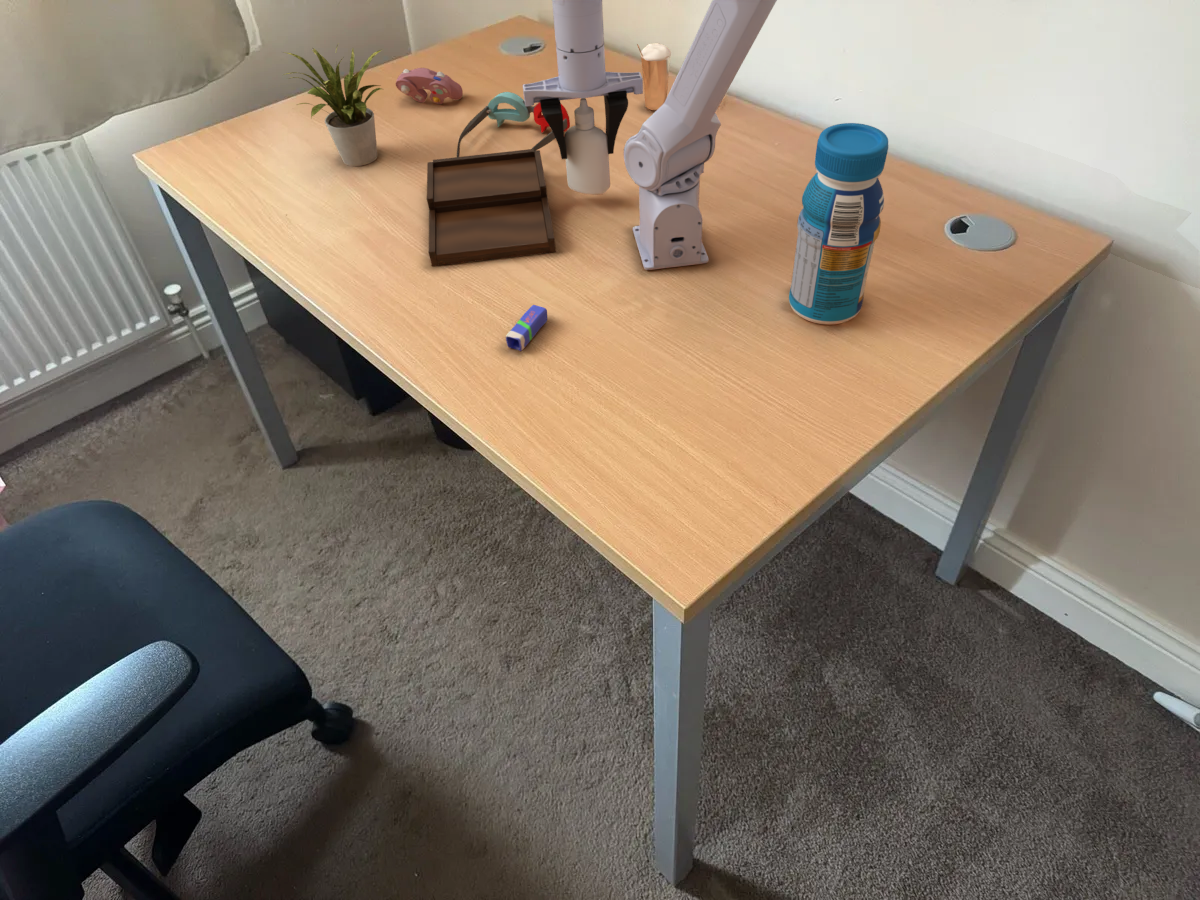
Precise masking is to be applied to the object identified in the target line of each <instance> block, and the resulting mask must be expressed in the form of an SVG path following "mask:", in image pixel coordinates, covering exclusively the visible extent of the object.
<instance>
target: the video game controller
mask: <svg viewBox="0 0 1200 900" xmlns="http://www.w3.org/2000/svg"><path fill="white" fill-rule="evenodd" d="M395 87H396V89H397V90H398V91H399V92H401V93H402V94H404V95H406V96H408V97H411V98H412V99H413V100H415V101H416V102H418V103H422V104H423V103H425V102H426V101H427V98H428V92H427V91H430V95H429V99H430V102H433V104H438V105H443V103H444V101H445V99H451V100H454V101H455V100H456V101H457V100H461V99H462V98H463V96H464V95H463V94H464V91H463V88H462V85H461V84H460V83H458V82H457V81H455V80H453V79H452V78H451V76H449V75H447V74H445V73H444V72H442V71H435V70H432V69H429V68H426V67H417V68H414V69H413V68H412V69H411V70H409V69H408V68H403V71H402V72H401V73H400V74H399V75H398V76H397V78H396V81H395Z"/></svg>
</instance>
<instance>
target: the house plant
mask: <svg viewBox="0 0 1200 900" xmlns="http://www.w3.org/2000/svg"><path fill="white" fill-rule="evenodd" d="M338 47H339V44H337V45H336V47H335V52H337V50H338ZM383 50H384V49H379V50H377V51H374V52H373V53H372V54H371V55H369V57H368V58H367V59H366V61H365V62H364V64H363V65H362V67H361V69H360V70H359V71H357V72H356V73H354V71H355V51H354V48H352V49H351V55H350V60H349V70H348V71H349V72H348V73H347V74H346V75H345V76H344V77H343V85H342V79H341V75H340V63H341V62H342V60H343V59H344V57H342V58H341V59H340V60H339V62H338V63H337V64H336V66H335V67H336V68H335V69H334V67H333V66H332V64H331V63H329V61H328V60H327V59H326V58H325V57H324V56H323V55H322V54H321V53H320V52H318V50H317V49H315V48H314V47H312V49H311V51H312V52H313V53H314V55H316V57H317V58H318V61H319V63H320V66H321V68H322V70H323V73H324V74H325V77H326V78H327V80H324V79H323V78H322V76H321V75H320V74H319V73H318V72H317V70H316V69H315V68H314V66H312V65H311V63H310V62H309V61H307V59H305V58H304V57H302V56H301V55H298V54H295V53H292V52H287V51H286V52H284V51H282V53H284V54H287V55H290V56H293V57H295V58H297V59H298V60H299V61H301V62H302V64H304V65H305V66H306V67H307V68H308V69H309V71H310V72H311V73H312V74H313V75H314V76H315V77H316V78H317V79H316V78H315V77H313V76H312V75H309V74H307V73H303V72H300V74H302V75H304V76H307V77H308V78H310V79H311V80H313V81H314V82H315V83H316V84H317V85H319V86H315V85H314V84H313V83H311V82H310V81H309V80H307V79H305V78H303V77H299V76H293V77H289V78H288V77H287V79H288V80H289V79H297V78H298V79H301V80H303V81H304V82H307V83H308V84H309V85H311V86H312V87H310V89H309V90H308V91H307V94H308V95H312V96H314V97H317V98H320V99H322V100H323V101H324V102H325V103H318V104H316V105H313V104H312V103H309V102H301V103H297V104H296V106H298V105H311V106H312V108H311V111H310V120H312V118H313V117H314V116H315V115H316V114H318V112H319V111H321V110H322V111H324V112H326V113H328V115H326V117H325V118H324V124H325V126H326V129H327V131H328V133H329V135H330V137H331V139H332V141H333V143H334V145H335V147H336V150H337V152H338V154H339V156H340V158H341V160H342V162H343V164H344V165H346V166H350V167H361V166H366V165H369V164H371V163H373V162H374V161H376V159H378V146H377V136H376V135H377V132H376V123H375V121H376V120H375V113H374V111H373V110H372V109H371V108H369V107H367V104H366V103H367V101H368V100H369V99H370V98H371V96H373V94H375V93H376V92H378V91H380V90H383V88H382V87H381V86H382V85H381V84H380V85H379V84H369V85H364V86H362V87H360V88H359V86H360V83H361V80H362V78H363V76H364V74H365V72H366V70H367V69H368V68H369V66H370V64H371V62H372V60H373V58H374V57H376V55H378V53H380V52H381V51H383ZM290 74H298V72H297V71H294V72H293V71H292V72H286V73H284V74H282V76H284V75H290ZM342 86H343V87H342ZM321 87H322V88H321ZM373 87H376V88H373ZM343 88H344V91H343ZM371 88H373V89H372V90H371V91H370V92H369V93H368V94H367V96H366V98H365V99H364V101H362V100H363V95H364V93H365V92H366V91H367V90H368V89H371ZM325 106H328V107H330V108H331V109H332V112H328V111H326V110H324V109H323V108H324V107H325Z"/></svg>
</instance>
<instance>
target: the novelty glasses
mask: <svg viewBox="0 0 1200 900" xmlns="http://www.w3.org/2000/svg"><path fill="white" fill-rule="evenodd" d="M500 104H507V105H510V106H512V107H513V108H499V105H500ZM561 109H562V114H563V129H564V132H566V131H567V130H568V129H569V128H570V127H571V121H570V116H569V113H568V111H567V109H566V107H565V106H564V105H563V104H562V103H561ZM531 113H533V121H534V123H535V124H536V125H538V126H540V131H541V132H540V133H541V134H543V133H544V132H545V131H546V130H547V128H550V126H549V124H548V123H547V121H546V120H545V118H544V116H543V114H542V110H541V105H540V103H535V104H534V105H533V106H525V101H524V98H522V97H521V96H520V95H518V94H517V93H514V92H510V91H503V92H500V93H498V94H496V95H495V96H494V97H493V98H492V99H490V101H489V102H488V104H487V105H485V107H484V108H483V109H481V111H479V112H477V113H476V115H475V116H474V117H473V118H471V120H470V121H469V122H468V123H467V125H466V126H465V127H464V128H463V130H462V132H461V133H460V135H459V138H458V141H457V148H456V157H460V151H461V150H460V149H461V144H462V143H461V142H462V141H463V139H464V138H465V137H466V136H467V135H468V134H470V133H471V132H472V131H473V130H474V129H475V128H477V126H478V125H479V124H480V123H481V122H483V120H485V119H487V117H488V118H489V119H490V120H493V121H494V120H495V121H496V122H497V123H496V125H497V128H499V127H501V126H502V125H503V124H504V122H505V121H513V122H517V123H518V122H519V123H524V122H526V121H527V120H528V119H530V117H531ZM554 140H556V138H555V136H554V134H553V132H552V131H550V132H549V133H548V134H547V135H545V136H544V137H543V138H542V139H540V140H539V141H538V142H537V143H536V144H535V145H534V146H532V147H531V149H534V151H537V150H540V149H542V148H544V147H545V146H547V145H548V144H550V143H551V142H552V141H554Z"/></svg>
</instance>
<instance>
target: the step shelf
mask: <svg viewBox="0 0 1200 900" xmlns="http://www.w3.org/2000/svg"><path fill="white" fill-rule="evenodd" d="M426 167H427V168H426V202H427V206H428V255H429V260H430V265H431V267H437V266H438V267H439V266H446V265H455V264H465V263H473V262H481V261H489V260H491V261H492V260H499V259H507V258H516V257H525V256H533V255H543V254H549V253H556V251H557V250H556V249H557V248H556V240H555V233H554V227H553V221H552V216H551V210H550V205H549V199H548V190H547V184H546V177H545V172H544V165H543V161H542V155H541V150H540V149H538V150H537V151H534V149H532V148H530V149H529V148H528V149H520V150H510V151H502V152H492V153H491V152H490V153H482V154H473V155H463V156H459V157H457V156H455V157H447V158H436V159H432V161H429V162H427V166H426Z"/></svg>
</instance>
